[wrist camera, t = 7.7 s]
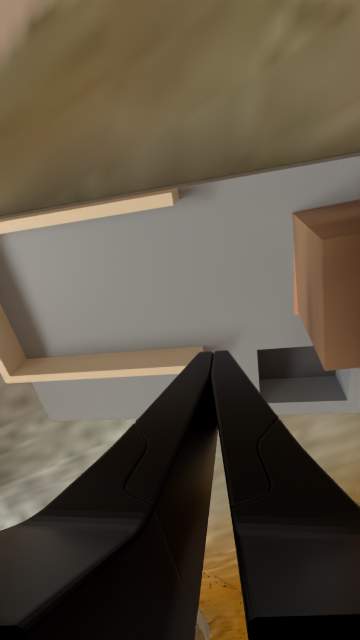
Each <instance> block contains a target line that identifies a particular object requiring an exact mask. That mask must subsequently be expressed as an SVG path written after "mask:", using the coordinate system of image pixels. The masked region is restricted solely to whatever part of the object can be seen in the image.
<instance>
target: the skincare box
mask: <svg viewBox="0 0 360 640" xmlns="http://www.w3.org/2000/svg"><path fill="white" fill-rule="evenodd" d="M195 628H196V634H195V640H209V633H210V630H209V627H208V625H207V623H206V620H205V618H204V617H203V615H202V613H201V611H200V609H199V608H198V615H197V624H196V626H195Z"/></svg>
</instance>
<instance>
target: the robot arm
mask: <svg viewBox="0 0 360 640" xmlns="http://www.w3.org/2000/svg"><path fill="white" fill-rule="evenodd" d="M135 423H136V424H135ZM135 423H134V424H133V425H132V426H131V427H130V428H129V429H128V430H127V431H126V432H125V433H124V434H123V435H122V436H121V437H120V439H119V440H118V441H117V442H116V443H115V444H114V445H113V446H112V447H111V448H110V449H109V450H108V451H107V452H106V453H104V454H103V455H102V456H101V457H100V458H99V459H98V460H97V461H96V462H95V463H94V464H93V465H92V466H90V467H89V468H88V469H87V470H86V471H85V472H84V473H83V474H82V475H80V476H79V477H78V478H77V479H76V480H75V481H74V482H73V483H72V484H71V485H69V486H68V487H67V488H66V489H65V490H64V491H63V492H62V493H61V494H59V495H58V496H57V497H56V498H55V499H54V500H53V501H52V502H51V503H49V504H48V505H47V506H46V507H45V508H43V509H42V510H41V511H39V512H38V513H37V514H35V515H34V516H32V517H31V518H29V519H27V520H26V521H24V522H22V523H19V524H17V525H15V526H13V527H10V528H7V529H4V530H1V531H0V640H195V634H196V628H195V626H196V624H197V615H198V606H199V597H200V588H201V579H202V570H203V561H204V552H205V543H206V534H207V525H208V516H209V508H210V499H211V490H212V481H213V472H214V463H215V454H216V445H217V435H218V431H219V437H220V444H221V451H222V458H223V464H224V471H225V478H226V485H227V491H228V498H229V505H230V511H231V518H232V525H233V532H234V539H235V546H236V553H237V561H238V568H239V575H240V582H241V590H242V597H243V604H244V612H245V619H246V626H247V633H248V640H360V507H359V506H358V505H357V504H356V503H355V502H354V501H353V500H352V499H351V498H350V497H349V496H348V495H347V494H346V493H345V492H344V491H343V490H342V489H341V488H340V487H339V485H338V484H337V483H336V482H335V481H334V480H333V479H332V478H331V477H330V476H329V475H328V474H327V473H326V472H325V471H324V470H323V469H322V468H321V467H320V466H319V465H318V464H317V463H316V462H315V461H314V460H313V459H312V457H311V456H310V455H309V454H308V453H307V452H306V451H305V450H304V449H303V448H302V447H301V446H300V444H299V443H298V442H297V441H296V439H295V438H294V437H293V436H292V434H291V433H290V432H289V431H288V429H287V428H286V427H285V425H284V424H283V423H282V421H281V420H279V418H278V416H277V415H276V414H275V412H274V411H273V410H272V408H271V407H270V406H269V404H268V403H267V402H266V400H265V399H264V398H263V396H262V395H261V394H260V392H259V391H258V390H257V388H256V387H255V386H254V384H253V383H252V382H251V380H250V379H249V378H248V376H247V375H246V374H245V372H244V371H243V370H242V368H241V367H240V366H239V364H238V363H237V362H236V360H235V359H234V358H233V356H232V355H231V353H230V352H229V351H228V350H219V351H214V353H213V352H212V351H205V352H199V353H198V354H197V355H196V356H195V357H194V358H193V359H192V360H191V361H190V362H189V364H188V365H187V366H186V367H185V368H184V369H183V370H182V371H181V372H180V373H179V375H178V376H177V377H176V378H175V379H174V380H173V381H172V382H171V383H170V384H169V385H168V387H167V388H166V389H165V390H164V391H163V392H162V393H161V394H160V395H159V396H158V397H157V399H156V400H155V401H154V402H153V403H152V404H151V405H150V406H149V407H148V408H147V409H146V411H145V412H144V413H143V414H142V415H141V416H140V417H139V418H138V419H137V420H136V422H135Z"/></svg>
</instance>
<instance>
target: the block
mask: <svg viewBox="0 0 360 640" xmlns="http://www.w3.org/2000/svg"><path fill="white" fill-rule="evenodd" d="M292 220H293V237H294V253H295V270H296V286H297V303H298V313H299V315H300V317H301V319H302V321H303V324H304V326H305V328H306V330H307V332H308V335H309V337H310V339H311V341H312V343H313V346H314V348H315V350H316V352H317V354H318V357H319V359H320V361H321V363H322V365H323V368H324V370H325V371H330V370H341V369H352V368H360V199H358V200H353V201H348V202H343V203H338V204H333V205H328V206H323V207H318V208H313V209H308V210H303V211H298V212H293V213H292Z"/></svg>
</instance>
